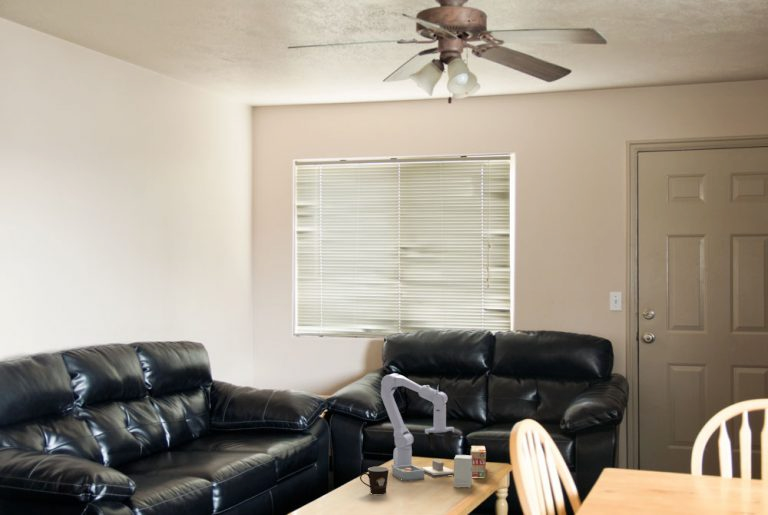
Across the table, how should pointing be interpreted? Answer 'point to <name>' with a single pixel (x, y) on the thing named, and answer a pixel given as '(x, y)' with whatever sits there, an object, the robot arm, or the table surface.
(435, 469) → the lid
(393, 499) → the table surface
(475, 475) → the stack of blocks
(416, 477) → the box
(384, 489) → the coffee mug
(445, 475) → the mat
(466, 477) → the supplement box
